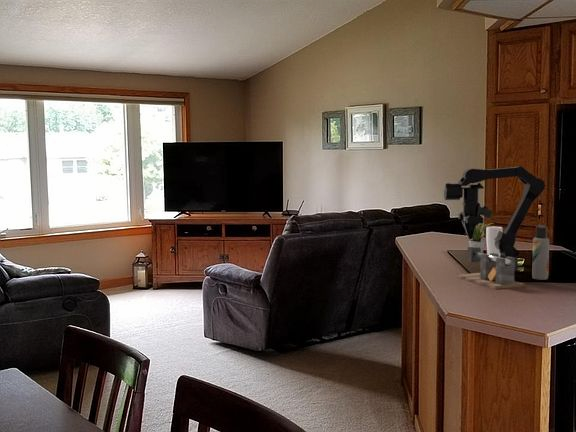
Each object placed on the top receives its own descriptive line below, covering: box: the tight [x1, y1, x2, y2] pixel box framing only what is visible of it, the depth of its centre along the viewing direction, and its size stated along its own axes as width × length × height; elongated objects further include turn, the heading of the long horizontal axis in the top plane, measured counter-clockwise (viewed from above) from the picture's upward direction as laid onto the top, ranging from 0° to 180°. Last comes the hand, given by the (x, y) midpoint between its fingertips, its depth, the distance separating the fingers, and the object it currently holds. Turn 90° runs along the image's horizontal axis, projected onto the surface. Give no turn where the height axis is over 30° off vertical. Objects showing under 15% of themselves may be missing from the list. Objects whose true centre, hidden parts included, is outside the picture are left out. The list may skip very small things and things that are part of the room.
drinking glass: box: [485, 225, 504, 257], centre depth 281 cm, size 7×7×15 cm
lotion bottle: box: [531, 224, 550, 281], centre depth 244 cm, size 6×6×20 cm
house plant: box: [468, 221, 493, 253], centre depth 302 cm, size 14×14×16 cm
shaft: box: [467, 246, 511, 265], centre depth 239 cm, size 22×4×6 cm, turn 19°
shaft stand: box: [456, 253, 524, 290], centre depth 240 cm, size 23×12×10 cm, turn 19°
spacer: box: [488, 267, 496, 282], centre depth 235 cm, size 2×5×5 cm
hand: (470, 238), depth 260 cm, fingers closed
